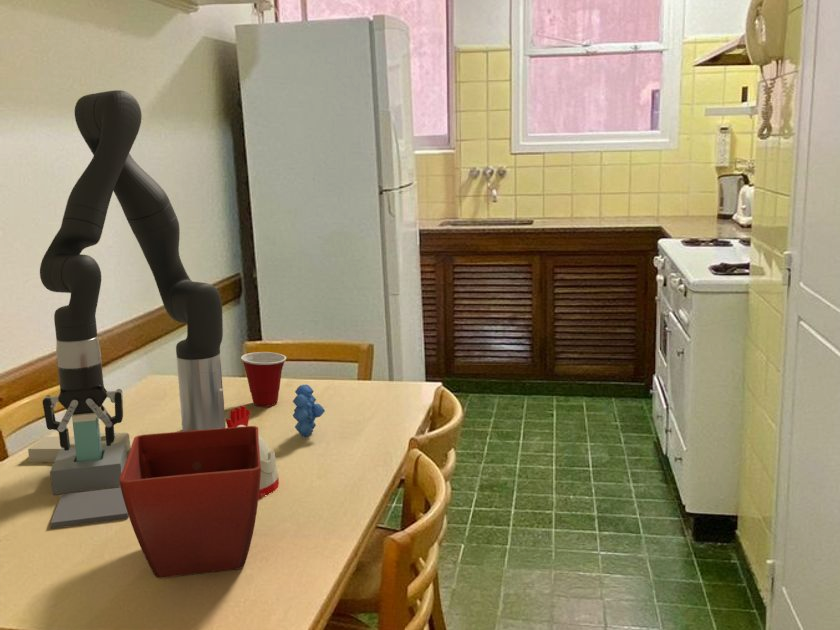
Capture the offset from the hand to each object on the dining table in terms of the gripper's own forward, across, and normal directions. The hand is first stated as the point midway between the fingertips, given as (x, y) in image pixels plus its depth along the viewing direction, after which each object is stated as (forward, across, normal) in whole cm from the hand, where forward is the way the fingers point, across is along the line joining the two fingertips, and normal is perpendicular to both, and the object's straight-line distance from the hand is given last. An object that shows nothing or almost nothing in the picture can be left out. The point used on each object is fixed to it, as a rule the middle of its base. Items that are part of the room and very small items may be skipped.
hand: (88, 446), depth 156 cm
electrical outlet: (+7, +4, -14) cm, 16 cm away
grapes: (+6, -43, -10) cm, 45 cm away
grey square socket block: (+6, 0, 0) cm, 6 cm away
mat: (+6, -2, +15) cm, 16 cm away
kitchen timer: (+7, -27, +13) cm, 31 cm away
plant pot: (+7, -20, +38) cm, 44 cm away
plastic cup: (+6, -36, -38) cm, 53 cm away
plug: (+6, 0, 0) cm, 6 cm away
